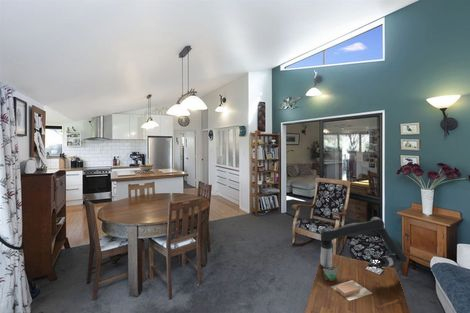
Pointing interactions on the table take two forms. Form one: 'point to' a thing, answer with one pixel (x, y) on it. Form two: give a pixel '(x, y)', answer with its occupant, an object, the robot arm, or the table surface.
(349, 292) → the tile
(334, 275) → the food container
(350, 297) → the board
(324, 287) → the table surface
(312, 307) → the table surface
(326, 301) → the table surface
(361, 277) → the table surface
